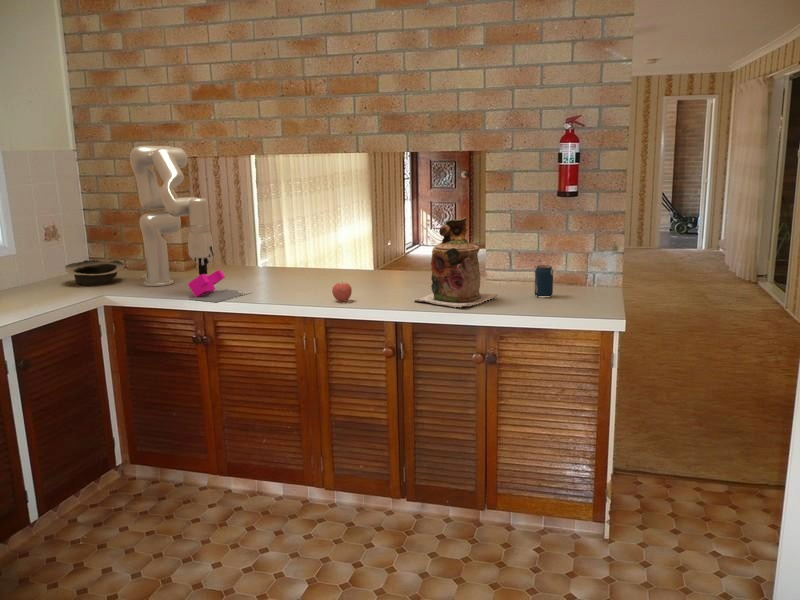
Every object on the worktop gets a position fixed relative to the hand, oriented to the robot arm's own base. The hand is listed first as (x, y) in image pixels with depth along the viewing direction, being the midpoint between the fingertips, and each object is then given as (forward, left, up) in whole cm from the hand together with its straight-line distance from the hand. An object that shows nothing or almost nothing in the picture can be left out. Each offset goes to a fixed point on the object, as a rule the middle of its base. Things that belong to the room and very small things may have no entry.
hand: (203, 274), depth 285 cm
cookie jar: (+99, +30, -9) cm, 104 cm away
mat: (+9, 0, -8) cm, 12 cm away
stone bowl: (-66, +2, -9) cm, 66 cm away
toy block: (-1, 0, -6) cm, 6 cm away
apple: (+59, +11, -9) cm, 61 cm away
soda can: (+127, +50, -9) cm, 137 cm away
